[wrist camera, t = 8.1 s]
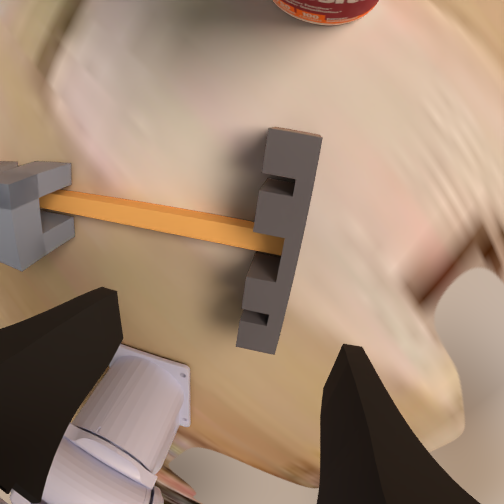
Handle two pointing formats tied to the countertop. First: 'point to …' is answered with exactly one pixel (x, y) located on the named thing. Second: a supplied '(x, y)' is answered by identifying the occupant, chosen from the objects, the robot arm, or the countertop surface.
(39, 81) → the countertop surface
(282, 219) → the comb
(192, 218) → the hammer
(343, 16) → the pill bottle
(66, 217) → the sleeve
